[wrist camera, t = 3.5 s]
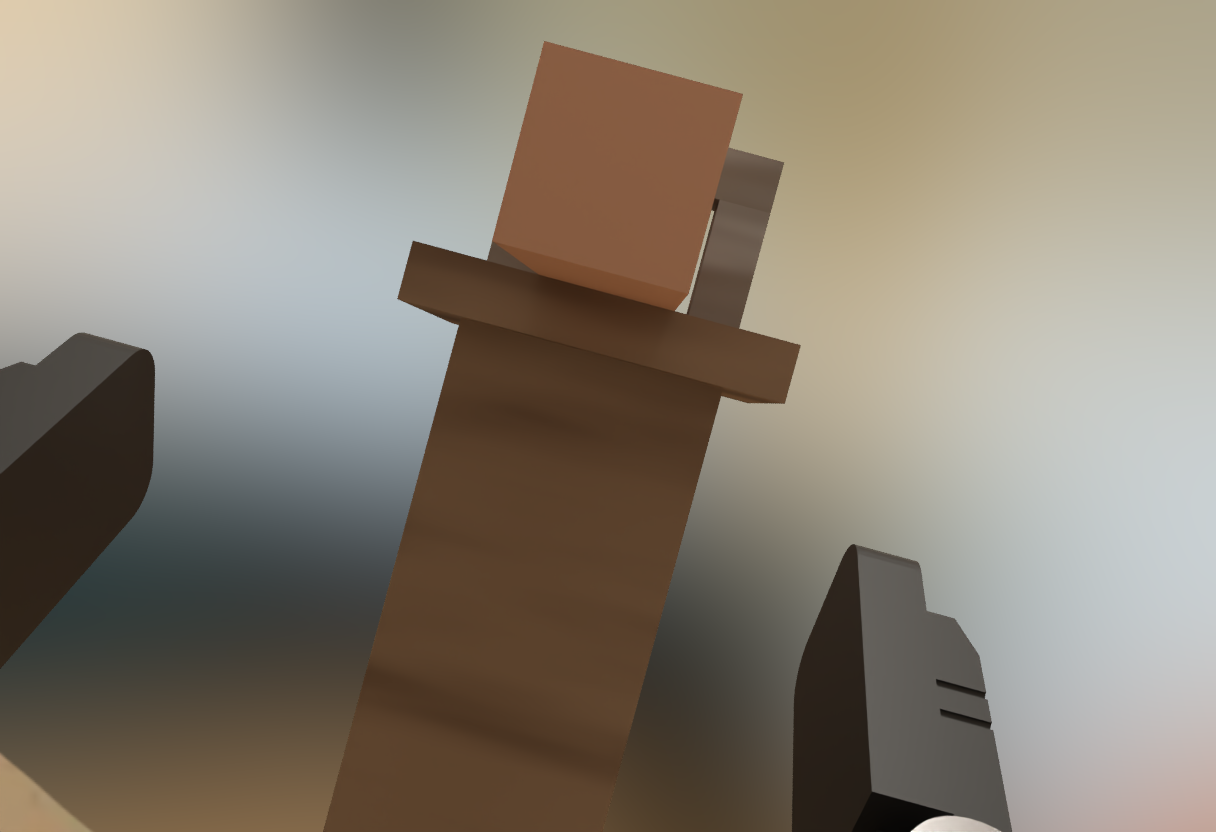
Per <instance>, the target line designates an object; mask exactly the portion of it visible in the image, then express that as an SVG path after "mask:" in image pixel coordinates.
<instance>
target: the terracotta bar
mask: <svg viewBox="0 0 1216 832" xmlns="http://www.w3.org/2000/svg"><path fill="white" fill-rule="evenodd" d="M742 96H743V94H740V93H737V92H733V91H730V90H726V89H722V88H718V87H714V86H711V85H707V84H703V83H700V82H696V81H692V80H688V79H685V78H681V77H677V76H673V75H670V74H666V73H662V72H659V71H654V70H651V69H647V68H643V67H640V66H636V65H632V64H628V63H624V62H621V61H617V60H613V59H610V58H606V57H602V56H598V55H594V54H590V53H587V52H583V51H580V50H576V49H572V48H568V47H564V46H561V45H557V44H553V43H550V42H546V41H544V44H543V48H542V52H541V56H540V60H539V64H538V67H537V71H536V75H535V79H534V83H533V86H532V90H531V94H530V98H529V102H528V105H527V110H526V113H525V117H524V121H523V125H522V128H521V132H520V136H519V140H518V144H517V148H516V151H515V155H514V159H513V163H512V167H511V170H510V174H509V178H508V182H507V186H506V190H505V194H504V197H503V201H502V205H501V209H500V213H499V216H498V220H497V224H496V228H495V232H494V236H493V240H492V241H493V242H494V243H496V244H497V245H498V246H500V247H501V248H502V249H504V250H505V251H507V252H508V253H509V254H511V255H512V256H514V257H515V258H516V259H518V260H519V261H520V262H522V263H523V264H525V265H526V266H527V267H529V268H530V269H531V270H533V271H534V272H536V273H537V274H538V275H542V276H546V277H549V278H553V279H557V280H560V281H564V282H568V283H571V284H575V285H579V286H583V287H586V288H590V289H594V290H597V291H601V292H605V293H609V294H612V295H616V296H620V297H623V298H627V299H631V300H635V301H638V302H642V303H646V304H649V305H653V306H657V307H661V308H664V309H668V310H672V311H675V310H676V309H677V307H678V306H679V305H680V304H681V302H682V301H683V300H684V299H685V297H686V296H687V295H688V294H689V290H690V286H691V283H692V279H693V275H694V272H695V268H696V264H697V261H698V257H699V253H700V250H701V246H702V242H703V238H704V235H705V231H706V228H707V224H708V220H709V217H710V213H711V209H712V206H713V202H714V198H715V195H716V191H717V187H718V184H719V180H720V176H721V173H722V169H723V165H724V162H725V158H726V154H727V151H728V147H729V143H730V140H731V136H732V132H733V129H734V125H735V121H736V118H737V114H738V110H739V107H740V103H741V99H742Z"/></svg>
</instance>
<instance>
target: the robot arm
mask: <svg viewBox="0 0 1216 832" xmlns="http://www.w3.org/2000/svg"><path fill="white" fill-rule="evenodd" d="M154 388H155V365H154V360H153V357H152V355H151V353H150V352H149V351H148V350H145V349H142V348H138V347H134V346H131V345H127V344H124V343H120V342H116V341H113V340H109V339H105V338H102V337H98V336H94V335H90V334H87V333H78V334H75V335H74V336H72V337H71V338H69V339H68V340H67V341H66V342H64V343H63V344H62V345H61V346H59V347H58V348H57V349H56V350H55V351H53V352H52V353H51V354H49V355H48V356H47V357H46V358H44V359H43V360H42V361H41V362H40V363H38V364H37V365H36V366H35V365H31V364H27V363H24V362H19V363H16V364H14V365H11V366H8V367H5V368H3V369H0V669H1V667H2V666H3V665H4V664H5V663H6V662H7V661H8V659H9V658H10V657H11V656H12V655H13V654H14V652H15V651H16V650H17V649H18V648H19V647H20V646H21V644H22V643H23V642H24V641H25V640H26V639H27V638H28V636H29V635H30V634H31V633H32V632H33V631H34V630H35V628H36V627H37V626H38V625H39V624H40V623H41V622H42V620H43V619H44V618H45V617H46V616H47V615H48V614H49V612H50V611H51V610H52V609H53V608H54V607H55V606H56V604H57V603H58V602H59V601H60V600H61V599H62V598H63V596H64V595H65V594H66V593H67V592H68V591H69V589H70V588H71V587H72V586H73V585H74V584H75V583H76V582H77V580H78V579H79V578H80V577H81V575H83V574H84V572H85V571H86V570H87V569H88V568H89V567H90V566H91V564H92V563H93V562H94V561H95V560H96V559H97V557H98V556H99V555H100V554H101V553H102V552H103V551H104V549H105V548H106V547H107V546H108V545H109V543H111V541H112V540H113V539H114V538H115V537H116V536H117V535H118V533H119V532H120V531H121V530H122V529H123V528H124V527H125V525H126V524H127V523H128V522H129V521H130V520H131V519H132V517H133V516H134V515H135V513H136V512H137V510H138V509H139V507H140V505H141V503H142V501H143V499H144V497H145V494H146V492H147V489H148V485H149V482H150V479H151V474H152V468H153V441H154V440H153V439H154V390H155V389H154ZM985 694H986V690H985V684H984V679H983V674H982V668H981V663H980V657H979V655H978V653H977V652H976V650H975V649H974V647H973V646H972V644H971V643H970V641H969V640H968V638H967V637H966V635H965V634H964V632H963V631H962V629H961V627H960V626H959V625H958V623H957V622H956V620H955V619H954V618H950V617H947V616H943V615H939V614H935V613H932V612H928V611H926V603H925V596H924V589H923V581H922V574H921V568H920V565H919V563H918V562H917V561H913V560H909V559H906V558H902V557H898V556H894V555H891V554H887V553H884V552H880V551H876V550H873V549H869V548H865V547H862V546H858V545H854V544H853V545H851V546H850V547H849V548H848V549H847V551H846V552H845V554H844V556H843V558H842V561H841V563H840V565H839V567H838V570H837V572H836V575H835V577H834V580H833V582H832V584H831V587H830V589H829V591H828V594H827V596H826V599H825V601H824V603H823V606H822V608H821V611H820V613H819V615H818V618H817V620H816V623H815V625H814V627H813V630H812V632H811V635H810V637H809V639H808V642H807V644H806V647H805V650H804V653H803V656H802V659H801V663H800V667H799V671H798V675H797V681H796V687H795V695H794V736H793V800H792V832H1012V828H1011V823H1010V818H1009V812H1008V807H1007V802H1006V796H1005V791H1004V786H1003V781H1002V775H1001V770H1000V765H999V759H998V753H997V749H996V744H995V738H994V732H993V730H990V727H991V723H992V721H991V716H990V711H989V706H988V700H986V699H985Z"/></svg>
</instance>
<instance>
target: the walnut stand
mask: <svg viewBox="0 0 1216 832" xmlns="http://www.w3.org/2000/svg"><path fill="white" fill-rule="evenodd" d="M783 165H784V162H780V161H777V160H773V159H769V158H765V157H762V156H758V155H754V154H750V153H746V152H743V151H739V150H735V149H732V148H728V151H727V154H726V158H725V162H724V165H723V169H722V173H721V176H720V180H719V184H718V187H717V191H716V195H715V198H714V202H713V206H712V209H711V210H713V211H714V215H713V219H712V222H711V226H710V230H709V233H708V237H707V241H706V245H705V249H704V252H703V256H702V259H701V263H700V267H699V271H698V274H697V278H696V281H695V285H694V289H693V292H692V296H691V300H690V304H689V307H688V311H687V314H683V313H679V312H675V311H672V310H668V309H664V308H661V307H657V306H653V305H649V304H646V303H642V302H638V301H635V300H631V299H627V298H623V297H620V296H616V295H612V294H609V293H605V292H601V291H597V290H594V289H590V288H586V287H583V286H579V285H575V284H571V283H568V282H564V281H560V280H557V279H553V278H549V277H546V276H542V275H538V274H537V273H536V272H534V271H533V270H531V269H530V268H529V267H527V266H526V265H525V264H523V263H522V262H520V261H519V260H518V259H516V258H515V257H514V256H512V255H511V254H509V253H508V252H507V251H505V250H504V249H502V248H501V247H500V246H498V245H497V244H496V243H494V242H493V241H492V244H491V248H490V252H489V255H488V259H487V261H486V260H482V259H479V258H475V257H471V256H468V255H464V254H460V253H457V252H453V251H449V250H445V249H442V248H438V247H434V246H431V245H427V244H422V243H419V242H415V241H413V242H412V246H411V250H410V254H409V257H408V261H407V265H406V269H405V272H404V276H403V280H402V284H401V288H400V291H399V295H398V298H397V299H399V300H401V301H403V302H406V303H408V304H410V305H413V306H415V307H417V308H419V309H422V310H424V311H426V312H428V313H430V314H433V315H435V316H437V317H439V318H442V319H444V320H446V321H449V322H451V323H454V324H457V325H459V327H458V330H457V334H456V338H455V342H454V346H453V349H452V353H451V357H450V360H449V364H448V368H447V371H446V375H445V379H444V383H443V386H442V390H441V394H440V398H439V401H438V405H437V409H436V412H435V416H434V420H433V424H432V427H431V431H430V435H429V439H428V442H427V446H426V450H425V454H424V458H423V461H422V465H421V469H420V472H419V476H418V480H417V484H416V487H415V491H414V495H413V499H412V502H411V506H410V510H409V513H408V517H407V521H406V524H405V528H404V532H403V536H402V540H401V543H400V547H399V551H398V555H397V558H396V562H395V565H394V569H393V573H392V577H391V580H390V584H389V588H388V591H387V595H386V599H385V603H384V606H383V610H382V614H381V618H380V621H379V625H378V629H377V632H376V637H375V640H374V644H373V647H372V651H371V655H370V659H369V662H368V666H367V670H366V674H365V677H364V681H363V685H362V689H361V692H360V696H359V700H358V703H357V707H356V711H355V715H354V718H353V722H352V726H351V729H350V733H349V737H348V741H347V744H346V748H345V752H344V756H343V759H342V763H341V767H340V770H339V774H338V778H337V782H336V786H335V789H334V793H333V797H332V801H331V804H330V808H329V812H328V815H327V820H326V823H325V826H324V830H323V832H602V831H603V827H604V824H605V820H606V816H607V813H608V809H609V805H610V801H611V798H612V794H613V791H614V787H615V783H616V780H617V776H618V772H619V768H620V765H621V761H622V758H623V754H624V750H625V747H626V743H627V739H628V736H629V732H630V728H631V725H632V721H633V717H634V714H635V710H636V706H637V703H638V699H639V695H640V692H641V688H642V684H643V681H644V677H645V673H646V670H647V666H648V662H649V658H650V654H651V651H652V647H653V644H654V640H655V636H656V633H657V629H658V626H659V622H660V618H661V614H662V610H663V607H664V604H665V600H666V596H667V592H668V589H669V585H670V581H671V578H672V574H673V570H674V567H675V563H676V559H677V556H678V552H679V548H680V545H681V541H682V537H683V534H684V530H685V526H686V523H687V519H688V515H689V512H690V508H691V504H692V500H693V497H694V493H695V490H696V486H697V482H698V479H699V475H700V471H701V468H702V464H703V460H704V457H705V453H706V449H707V446H708V442H709V438H710V435H711V431H712V427H713V424H714V420H715V416H716V413H717V409H718V405H719V402H720V398H721V396H724V397H727V398H731V399H735V400H739V401H742V402H746V403H781V404H782V403H783V404H784V403H785V401H786V397H787V393H788V389H789V386H790V382H791V379H792V375H793V371H794V368H795V364H796V360H797V357H798V353H799V349H800V345H798V344H794V343H790V342H787V341H783V340H779V339H776V338H772V337H768V336H765V335H761V334H757V333H753V332H750V331H746V330H742V329H739V326H740V323H741V319H742V315H743V312H744V308H745V304H746V301H747V297H748V293H749V290H750V286H751V282H752V279H753V275H754V271H755V267H756V264H757V260H758V257H759V253H760V249H761V245H762V242H763V238H764V235H765V231H766V227H767V224H768V220H769V216H770V213H771V209H772V205H773V202H774V198H775V194H776V190H777V187H778V183H779V179H780V175H781V172H782V168H783Z"/></svg>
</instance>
